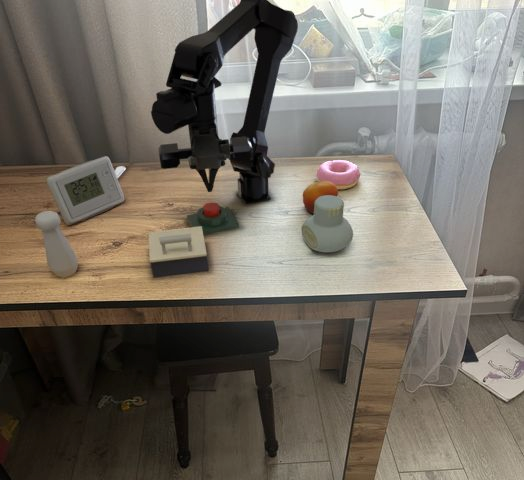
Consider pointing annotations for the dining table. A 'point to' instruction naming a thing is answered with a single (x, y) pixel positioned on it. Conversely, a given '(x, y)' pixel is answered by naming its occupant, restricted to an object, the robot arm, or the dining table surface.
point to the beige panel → (176, 244)
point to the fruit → (318, 193)
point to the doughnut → (339, 173)
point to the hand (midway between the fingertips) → (209, 191)
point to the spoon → (119, 170)
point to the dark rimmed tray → (179, 266)
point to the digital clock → (86, 190)
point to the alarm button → (211, 209)
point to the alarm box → (214, 221)
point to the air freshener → (327, 226)
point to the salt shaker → (56, 245)
